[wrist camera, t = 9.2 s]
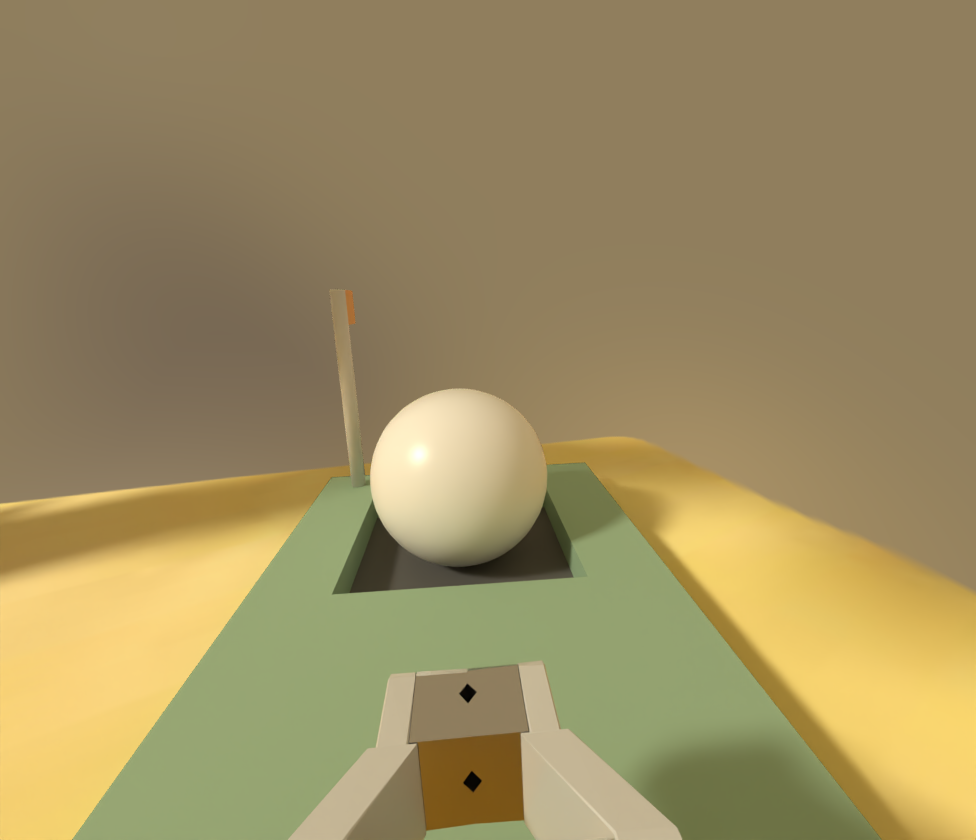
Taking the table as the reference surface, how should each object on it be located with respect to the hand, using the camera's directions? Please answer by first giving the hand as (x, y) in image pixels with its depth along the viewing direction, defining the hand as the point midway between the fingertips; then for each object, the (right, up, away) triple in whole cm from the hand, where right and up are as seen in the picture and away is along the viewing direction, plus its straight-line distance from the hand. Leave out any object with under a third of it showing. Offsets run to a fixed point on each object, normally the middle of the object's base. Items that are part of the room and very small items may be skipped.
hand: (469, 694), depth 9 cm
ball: (-1, +2, +18) cm, 18 cm away
